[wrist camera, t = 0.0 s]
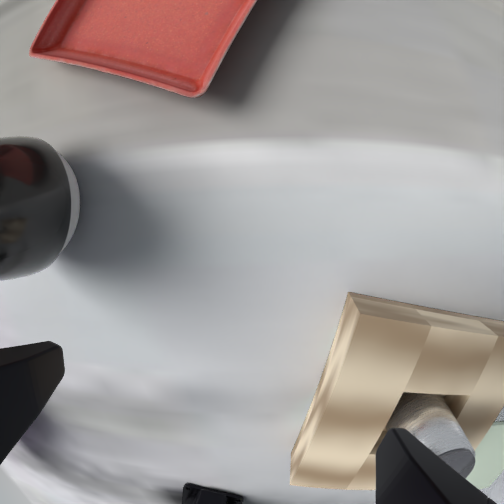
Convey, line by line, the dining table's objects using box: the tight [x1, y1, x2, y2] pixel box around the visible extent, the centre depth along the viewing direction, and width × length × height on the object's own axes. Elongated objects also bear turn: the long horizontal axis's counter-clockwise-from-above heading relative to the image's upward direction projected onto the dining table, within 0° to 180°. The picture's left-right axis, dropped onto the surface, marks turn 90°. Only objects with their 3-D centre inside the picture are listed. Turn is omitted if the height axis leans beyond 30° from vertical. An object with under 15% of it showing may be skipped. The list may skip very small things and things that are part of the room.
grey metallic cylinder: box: [386, 392, 475, 479], centre depth 17 cm, size 5×5×8 cm
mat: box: [466, 421, 504, 489], centre depth 22 cm, size 12×12×1 cm
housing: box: [290, 292, 504, 490], centre depth 20 cm, size 16×16×4 cm
